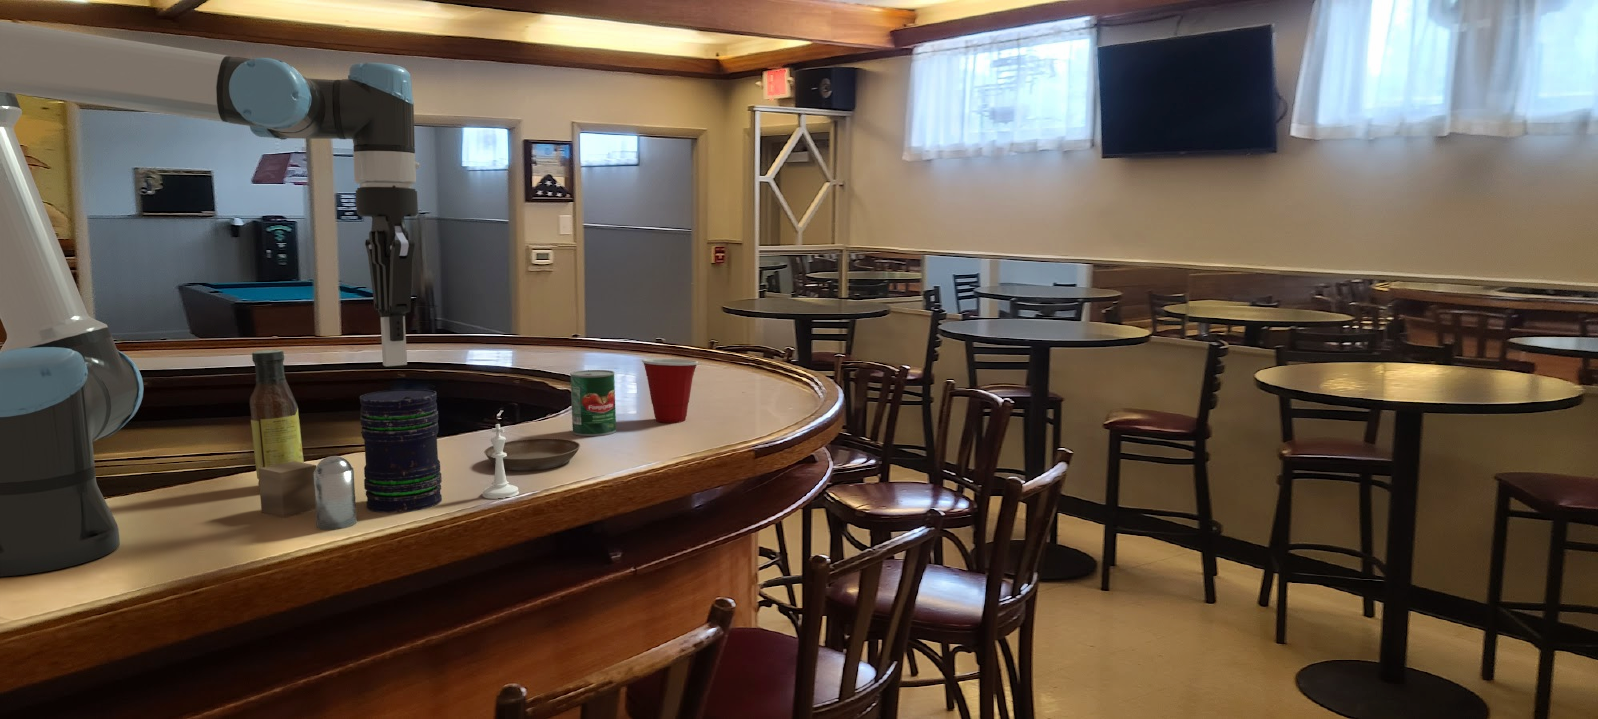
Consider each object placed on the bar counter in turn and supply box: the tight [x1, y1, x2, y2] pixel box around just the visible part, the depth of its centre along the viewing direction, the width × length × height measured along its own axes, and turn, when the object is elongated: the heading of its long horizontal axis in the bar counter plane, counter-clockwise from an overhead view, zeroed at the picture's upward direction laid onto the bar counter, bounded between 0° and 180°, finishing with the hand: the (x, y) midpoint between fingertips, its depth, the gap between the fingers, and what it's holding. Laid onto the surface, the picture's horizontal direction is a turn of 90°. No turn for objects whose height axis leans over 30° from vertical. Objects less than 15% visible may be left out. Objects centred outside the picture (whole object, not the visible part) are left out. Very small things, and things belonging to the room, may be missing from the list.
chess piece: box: [482, 423, 520, 500], centre depth 145 cm, size 5×5×10 cm
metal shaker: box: [313, 455, 358, 531], centre depth 131 cm, size 5×5×9 cm
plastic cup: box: [641, 358, 699, 424], centre depth 200 cm, size 11×11×12 cm
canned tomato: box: [569, 369, 617, 437], centre depth 189 cm, size 8×8×11 cm
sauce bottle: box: [249, 349, 305, 488], centre depth 150 cm, size 7×6×20 cm
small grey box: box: [258, 461, 317, 519], centre depth 138 cm, size 5×5×6 cm
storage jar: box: [359, 388, 443, 514], centre depth 141 cm, size 10×10×15 cm
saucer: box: [483, 437, 581, 472], centre depth 166 cm, size 15×15×3 cm
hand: (395, 364), depth 139 cm, fingers closed
